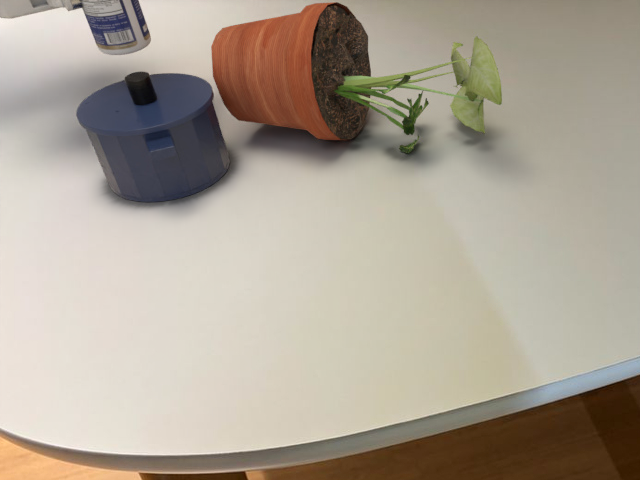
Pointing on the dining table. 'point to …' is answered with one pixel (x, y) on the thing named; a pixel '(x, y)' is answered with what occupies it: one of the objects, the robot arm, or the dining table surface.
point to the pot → (164, 160)
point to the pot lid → (145, 104)
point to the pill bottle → (117, 25)
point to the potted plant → (331, 75)
